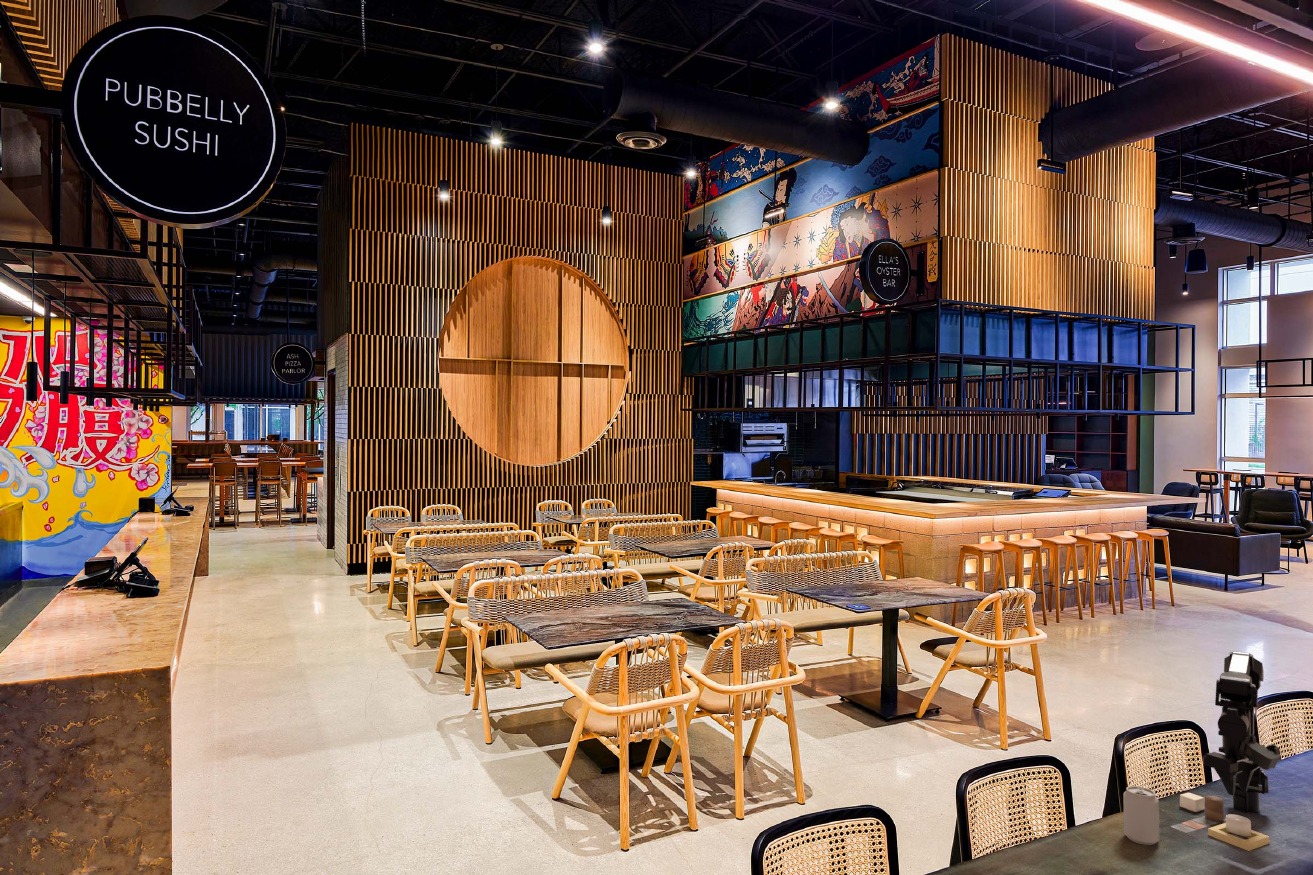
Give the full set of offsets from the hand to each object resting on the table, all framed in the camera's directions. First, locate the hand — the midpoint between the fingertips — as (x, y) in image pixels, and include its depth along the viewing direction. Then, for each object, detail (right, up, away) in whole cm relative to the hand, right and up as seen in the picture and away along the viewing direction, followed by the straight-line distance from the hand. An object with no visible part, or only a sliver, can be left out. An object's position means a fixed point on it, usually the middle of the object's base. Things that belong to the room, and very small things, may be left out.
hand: (1237, 792), depth 197 cm
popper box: (0, -12, -1) cm, 12 cm away
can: (-23, -12, +1) cm, 26 cm away
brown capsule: (+2, -12, +11) cm, 16 cm away
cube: (+1, -13, +18) cm, 22 cm away
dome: (0, -9, 0) cm, 9 cm away
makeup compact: (-4, -12, +8) cm, 15 cm away
